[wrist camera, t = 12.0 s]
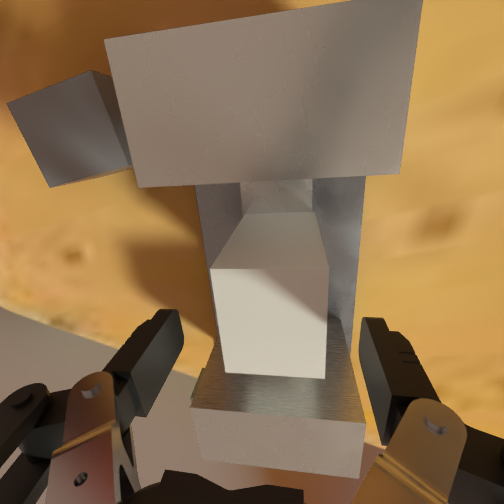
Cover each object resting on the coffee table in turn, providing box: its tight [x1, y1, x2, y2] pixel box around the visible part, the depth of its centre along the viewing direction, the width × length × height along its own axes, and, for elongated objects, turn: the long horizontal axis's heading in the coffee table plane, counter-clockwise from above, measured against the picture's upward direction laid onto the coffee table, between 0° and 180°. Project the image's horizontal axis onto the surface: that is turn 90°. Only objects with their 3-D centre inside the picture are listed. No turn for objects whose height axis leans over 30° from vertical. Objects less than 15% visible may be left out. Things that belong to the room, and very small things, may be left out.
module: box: [210, 211, 329, 379], centre depth 16 cm, size 6×5×9 cm
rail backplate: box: [104, 0, 423, 479], centre depth 17 cm, size 24×12×10 cm, turn 5°
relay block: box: [6, 70, 134, 188], centre depth 18 cm, size 5×6×5 cm
